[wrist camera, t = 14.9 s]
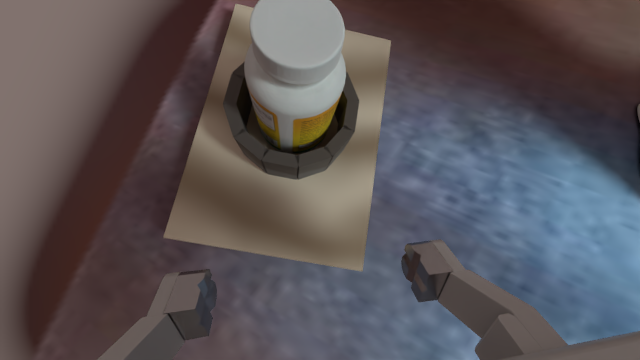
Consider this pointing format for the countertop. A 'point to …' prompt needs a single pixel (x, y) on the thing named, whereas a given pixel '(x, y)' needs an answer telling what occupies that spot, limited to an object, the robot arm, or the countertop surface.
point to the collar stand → (283, 165)
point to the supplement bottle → (295, 71)
